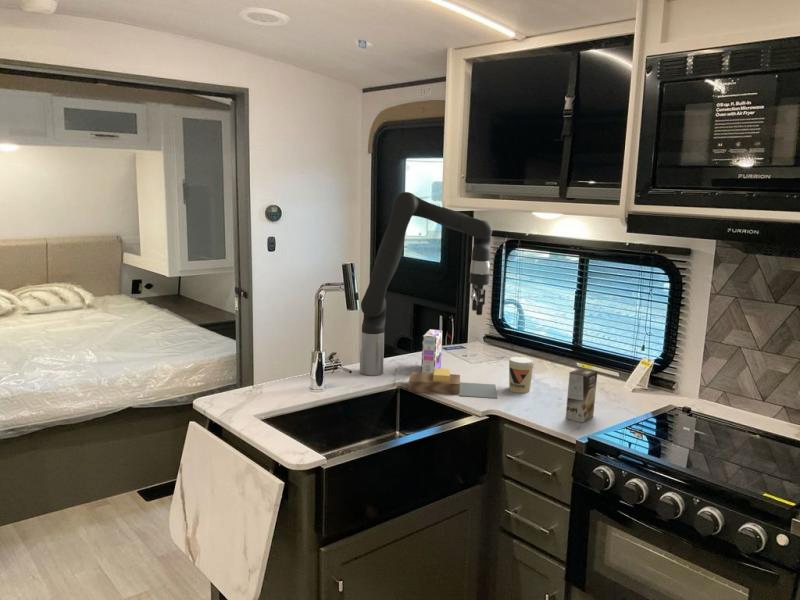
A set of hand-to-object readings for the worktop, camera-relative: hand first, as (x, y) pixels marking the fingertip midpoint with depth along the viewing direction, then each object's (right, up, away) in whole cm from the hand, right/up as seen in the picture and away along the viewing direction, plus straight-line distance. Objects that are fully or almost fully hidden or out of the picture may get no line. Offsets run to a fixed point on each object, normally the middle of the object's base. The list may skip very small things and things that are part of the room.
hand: (476, 312), depth 243 cm
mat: (-1, -30, -9) cm, 31 cm away
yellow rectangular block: (-15, -25, -8) cm, 30 cm away
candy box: (-17, -25, +16) cm, 34 cm away
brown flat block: (-17, -29, -7) cm, 34 cm away
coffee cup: (+16, -30, -6) cm, 34 cm away
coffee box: (+31, -35, -33) cm, 58 cm away
